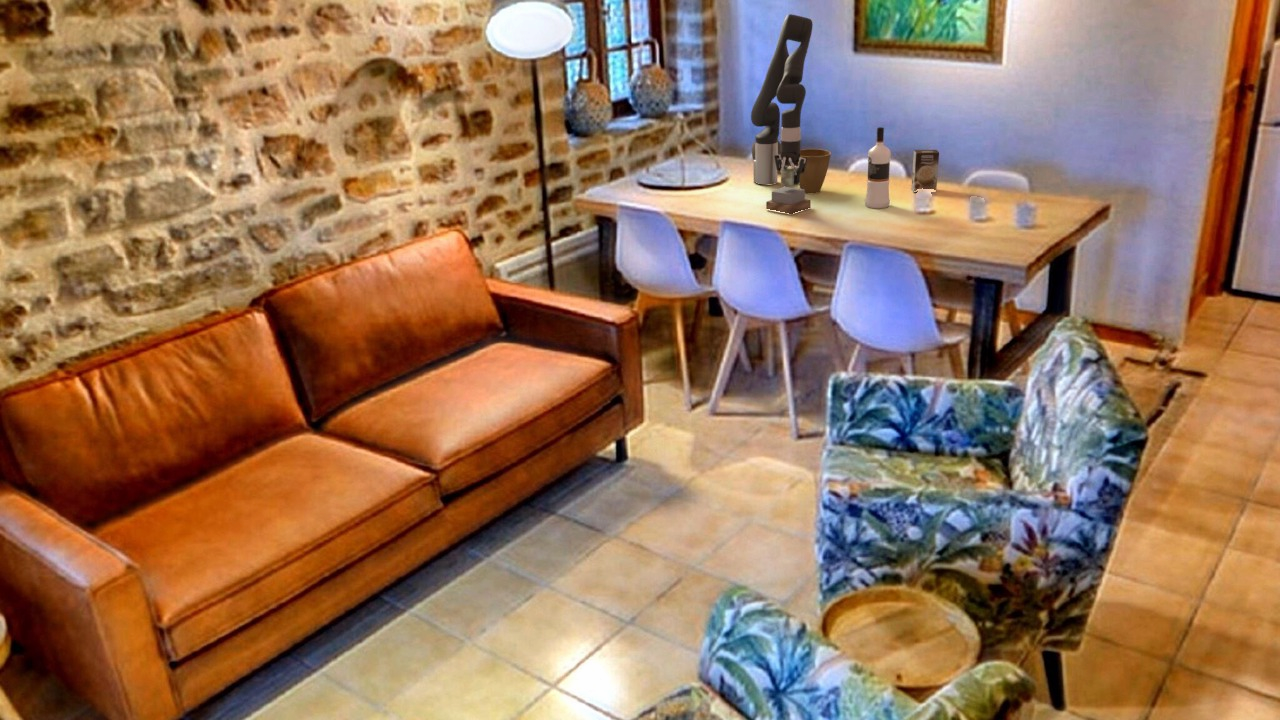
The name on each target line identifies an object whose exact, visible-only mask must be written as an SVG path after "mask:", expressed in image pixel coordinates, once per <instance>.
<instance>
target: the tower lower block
mask: <svg viewBox="0 0 1280 720" xmlns="http://www.w3.org/2000/svg"><path fill="white" fill-rule="evenodd" d="M811 201H812V200H811V199H807V198H805V200H803V201H800V202H797V203H795V204H792V205H789V204H783V203H777V202H772V199H770V200H767V201H766V202H765V203H766V206H765V208H766V209H770V210H776V211H780V212H785V213H789V214H793V213H795V212H798V211H801V210H805V209H808V208H811V206H812V205H811V204H812V202H811ZM766 209H765V210H766ZM808 210H809V209H808ZM805 211H806V210H805Z"/></svg>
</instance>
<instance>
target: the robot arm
mask: <svg viewBox="0 0 1280 720" xmlns="http://www.w3.org/2000/svg"><path fill="white" fill-rule="evenodd" d="M813 25H814V24H813V20H812V19H810V18H808V17H805V16H800V15H796V14H790V13H789V14H787V15H786V16H785V18H784V20H783V23H782V25H781V29H780V33H779V36H778V39H777V44H776V47H775V49H774V53H773V55H772V58H771V61H770V63H769V64H768V65H769V66H768V69H767V71H766V74H765V78H764V81H763V83H762V87H761V89H760V91H759V94H758V95H757V98H756V100H755V101H754V104H753V106H752V108H751V113H750V121H751V123H752V125H753V126H755V127H759V128H760V127H761V128H762V127H765V128H764V129H763V130H762V131H761V132H759V133H757V134H756V136H755V138H754V139H755V141H754V142H755V160H753V183H754V182H757V183H759V184H774V183H777V184H778V178H779V177H778V172H780V173H781V170H784V169H787V168H792V170H793V171H794V185H797V184H799V182H800V174H802V173H804V171H805V167H806V162H807V158H802V157H801V156H800V150H802V148H801V147H802V144H801V143H802V131H801V114H802V109H803V105H804V102H805V98H806V96H807V93H806V92H807V90H806V87H805V85H803V84H801V83H802V81H803V76H804V69H805V68H804V66H805V61H806V56H807V53H808V49H809V44H810V42H811V37H812V32H813ZM788 41H793V42H797V43H799V46H798V47H797V48H796V49H795V50H794V51H793V52H792V53H791V54H789V51H788ZM775 98H776V100H777V101H778V103H780V104H783V105H785V104H786V105H791V104H792V105H795V106H794V107H793V108H789V109H786V110H783V111H782V112H781V110H780V107H779V105H778V103H777V102H775V101H774V99H775ZM780 125H781V128H780ZM779 135H780V144H781V154H778V141H779ZM798 161H799V162H798ZM799 163H800V165H799ZM795 165H796V167H795ZM774 185H775V184H774Z"/></svg>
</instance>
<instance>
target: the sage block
mask: <svg viewBox="0 0 1280 720" xmlns="http://www.w3.org/2000/svg"><path fill="white" fill-rule="evenodd" d="M799 185H800V182H799V184H797V185H794V171H793V170H792V168H791V167H788V168H787V169H784V170H781V172H780V187H790V188H796V187H798V186H799Z"/></svg>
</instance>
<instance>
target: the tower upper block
mask: <svg viewBox="0 0 1280 720" xmlns="http://www.w3.org/2000/svg"><path fill="white" fill-rule="evenodd" d="M805 199H806V193H805V189H800V187H799V188H798V187H792V188H790V187H784V186H782V187H780V188H777V189H775V190H772V191H771V200H772V202H777V203H783V204H789V205H792V204H795V203H797V202H800V201H803V200H805Z"/></svg>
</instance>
